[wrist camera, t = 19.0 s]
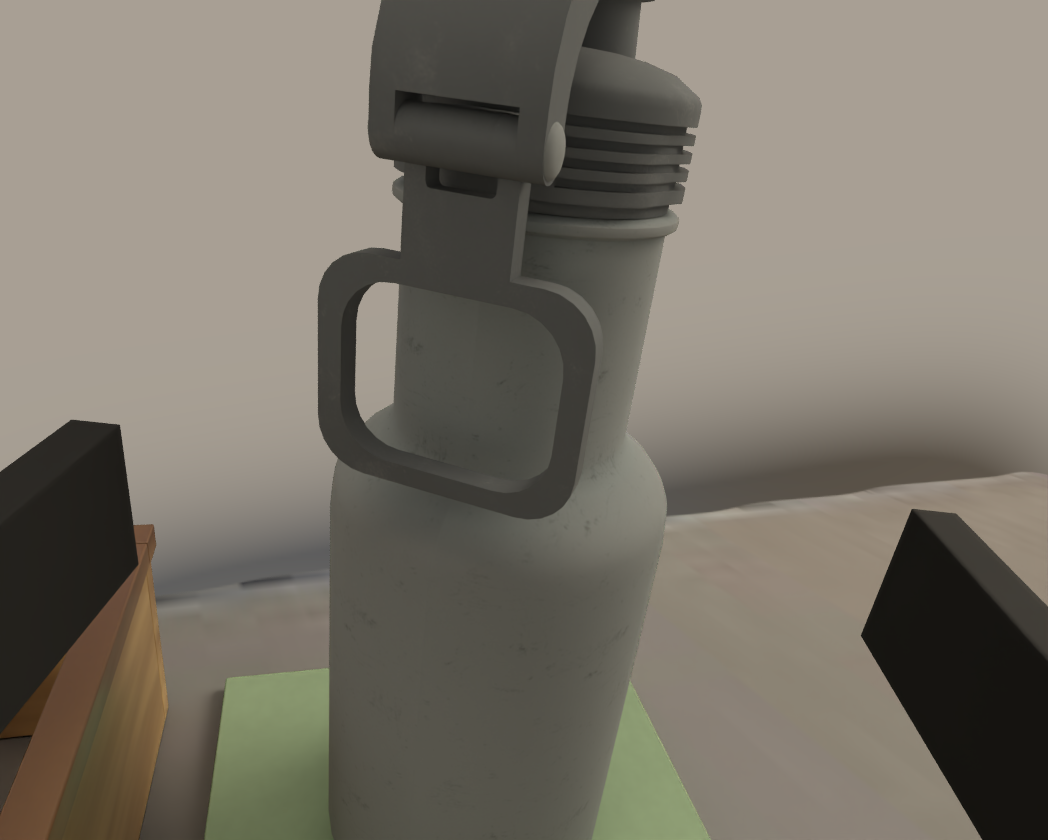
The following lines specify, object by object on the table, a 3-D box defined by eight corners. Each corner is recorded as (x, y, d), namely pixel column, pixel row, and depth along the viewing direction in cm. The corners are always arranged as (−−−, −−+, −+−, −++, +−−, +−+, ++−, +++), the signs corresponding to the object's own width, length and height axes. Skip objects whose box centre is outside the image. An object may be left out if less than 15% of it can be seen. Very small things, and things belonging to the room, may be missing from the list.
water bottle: (542, 1017, 21) (814, -153, 10) (262, 884, 24) (204, -178, 12) (616, 752, 30) (804, -22, 18) (406, 676, 33) (455, -52, 21)
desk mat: (607, 648, 37) (610, 640, 36) (787, 1008, 23) (792, 998, 23) (226, 687, 32) (225, 677, 31) (160, 1178, 18) (158, 1167, 18)
